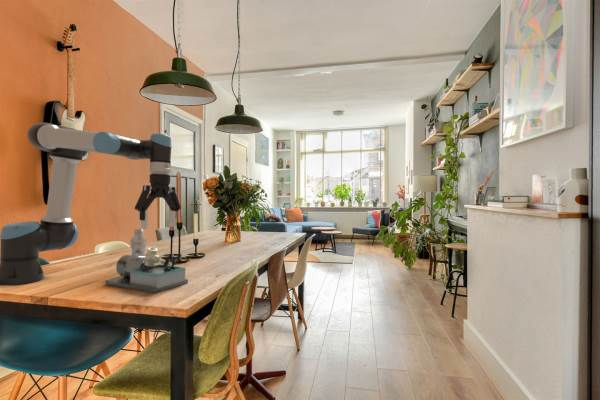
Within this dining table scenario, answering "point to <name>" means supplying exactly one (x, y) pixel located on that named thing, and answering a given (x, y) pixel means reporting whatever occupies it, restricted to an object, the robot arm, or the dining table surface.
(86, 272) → the dining table surface
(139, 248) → the plastic bottle
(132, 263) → the motor stand
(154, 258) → the valve
